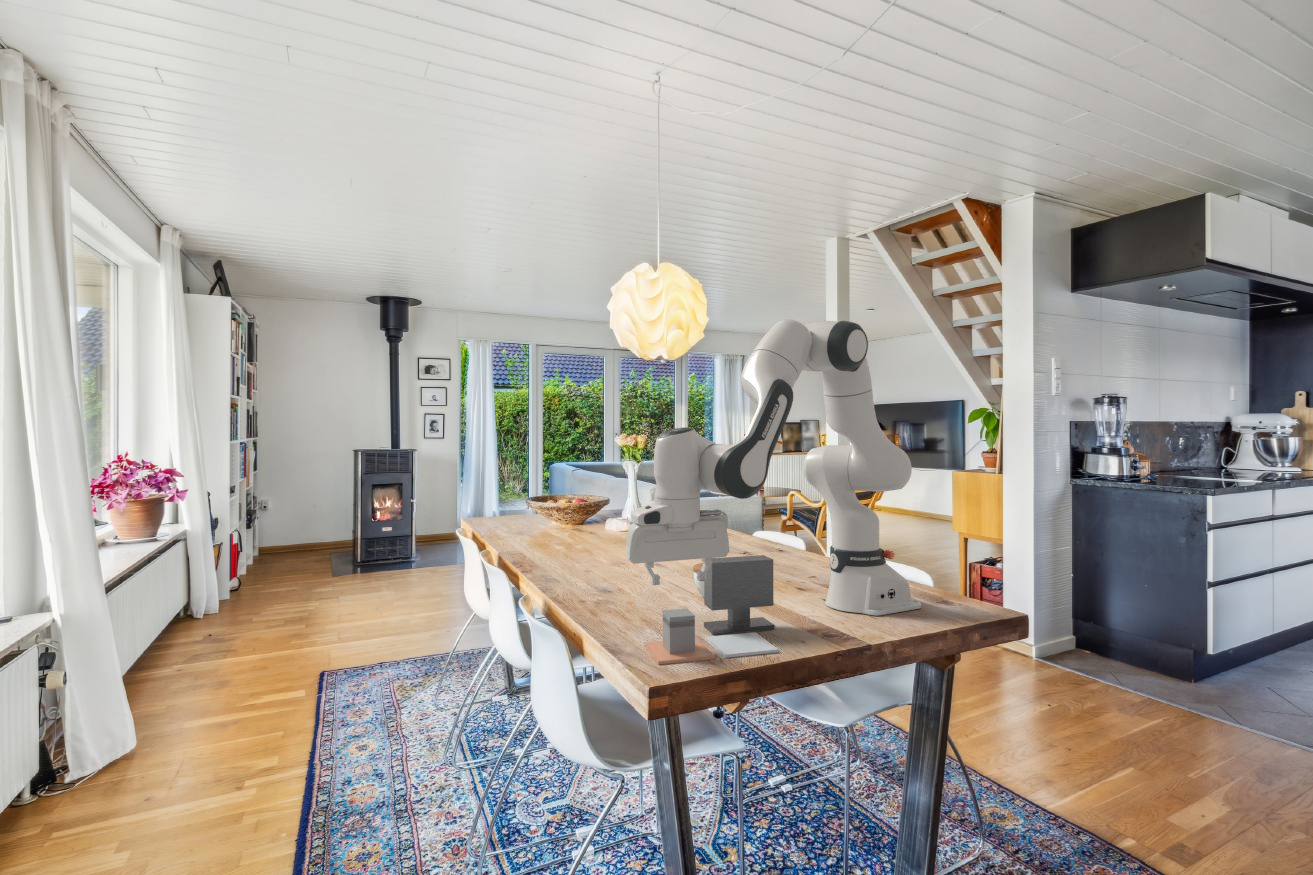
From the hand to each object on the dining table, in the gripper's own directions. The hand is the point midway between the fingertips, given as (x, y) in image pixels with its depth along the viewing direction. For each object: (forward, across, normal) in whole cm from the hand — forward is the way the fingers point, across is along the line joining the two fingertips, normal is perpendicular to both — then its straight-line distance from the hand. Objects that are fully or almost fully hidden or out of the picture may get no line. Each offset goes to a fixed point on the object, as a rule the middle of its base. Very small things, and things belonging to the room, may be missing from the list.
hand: (678, 582), depth 128 cm
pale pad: (+14, -12, +1) cm, 18 cm away
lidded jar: (+14, -20, -38) cm, 45 cm away
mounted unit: (+14, -16, -10) cm, 24 cm away
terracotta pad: (+13, 0, +1) cm, 13 cm away
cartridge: (+13, 0, +1) cm, 13 cm away
